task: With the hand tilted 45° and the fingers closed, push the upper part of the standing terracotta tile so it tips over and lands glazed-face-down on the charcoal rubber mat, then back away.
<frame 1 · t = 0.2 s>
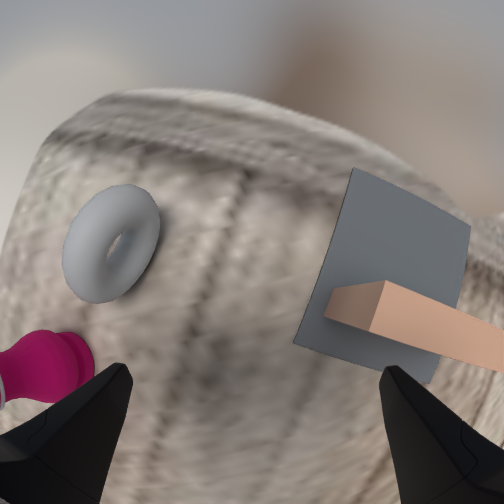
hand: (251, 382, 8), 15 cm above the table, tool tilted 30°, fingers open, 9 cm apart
donut: (141, 255, 25), on the table
rubber mat: (399, 278, 23), on the table
pepper mill: (74, 359, 23), on the table
terracotta tile: (387, 323, 22), resting on rubber mat
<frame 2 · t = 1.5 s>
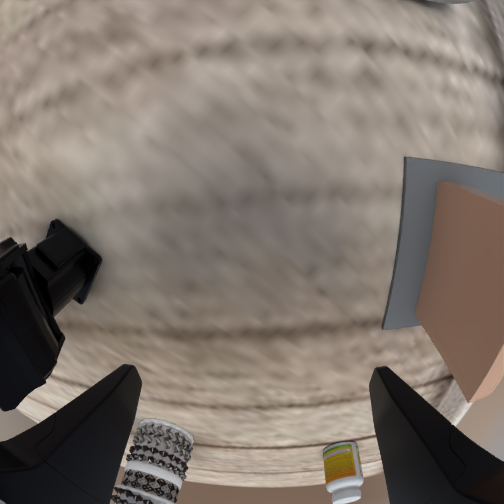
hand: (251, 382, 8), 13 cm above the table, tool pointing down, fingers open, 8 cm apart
decorative candle: (166, 432, 33), on the table
rubber mat: (470, 249, 19), on the table
terracotta tile: (439, 252, 19), resting on rubber mat
supplement bottle: (339, 447, 32), on the table
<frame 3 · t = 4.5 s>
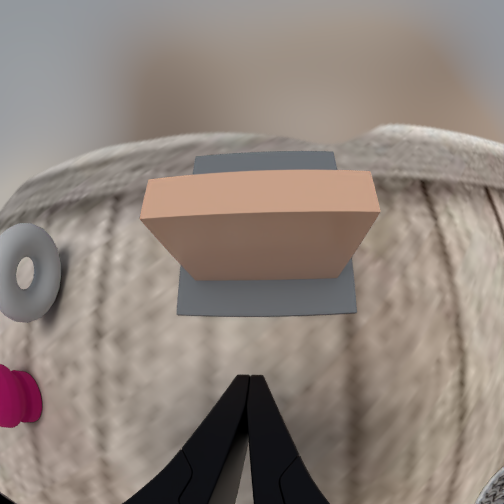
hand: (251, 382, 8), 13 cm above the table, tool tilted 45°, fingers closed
donut: (56, 288, 25), on the table
decorative candle: (496, 491, 10), on the table
rubber mat: (265, 223, 25), on the table
pepper mill: (28, 396, 20), on the table
terracotta tile: (265, 265, 23), resting on rubber mat
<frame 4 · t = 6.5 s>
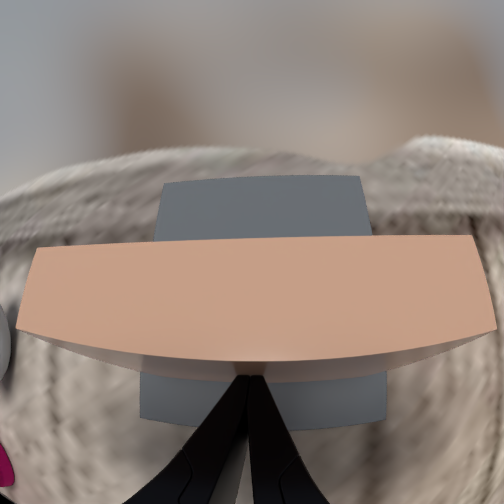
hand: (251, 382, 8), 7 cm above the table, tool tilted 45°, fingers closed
donut: (9, 350, 16), on the table
rubber mat: (261, 292, 17), on the table
terracotta tile: (261, 361, 15), point 1 cm above the table, tilted 6°, touching gripper, rubber mat
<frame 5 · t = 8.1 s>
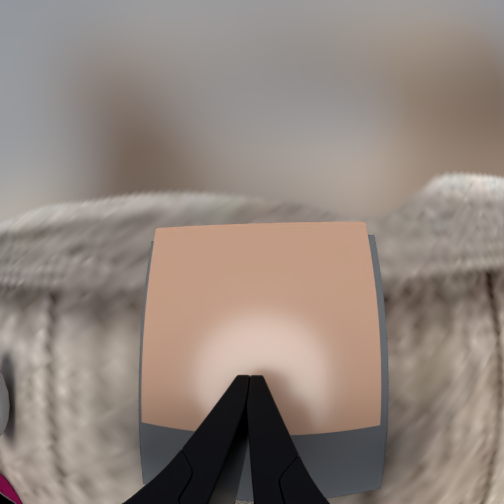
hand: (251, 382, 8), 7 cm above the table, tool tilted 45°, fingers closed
donut: (8, 401, 14), on the table
rubber mat: (261, 375, 15), on the table
pepper mill: (8, 494, 9), on the table
terracotta tile: (259, 429, 12), point 2 cm above the table, tilted 90°, touching rubber mat
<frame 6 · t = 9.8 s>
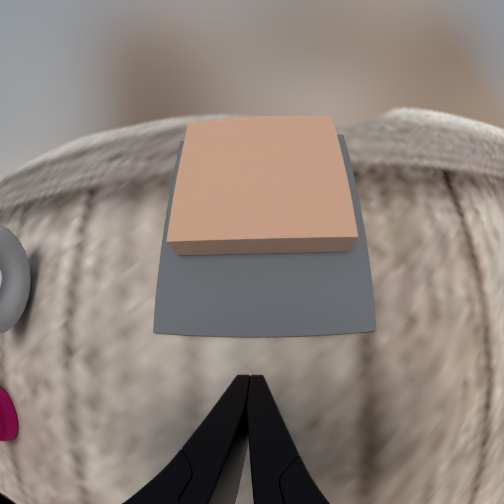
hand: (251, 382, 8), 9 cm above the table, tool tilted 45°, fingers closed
donut: (27, 295, 20), on the table
rubber mat: (262, 219, 20), on the table
pepper mill: (4, 413, 15), on the table
terracotta tile: (261, 246, 18), point 2 cm above the table, tilted 90°, touching rubber mat
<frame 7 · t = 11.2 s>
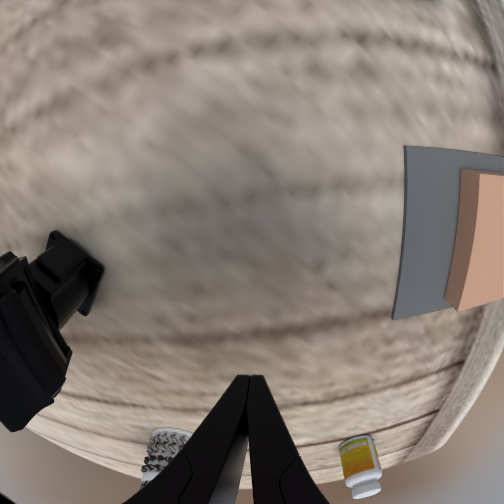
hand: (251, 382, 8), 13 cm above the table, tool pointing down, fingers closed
decorative candle: (180, 440, 32), on the table
rubber mat: (473, 233, 19), on the table
terracotta tile: (463, 243, 18), point 2 cm above the table, tilted 90°, touching rubber mat
supplement bottle: (355, 441, 32), on the table
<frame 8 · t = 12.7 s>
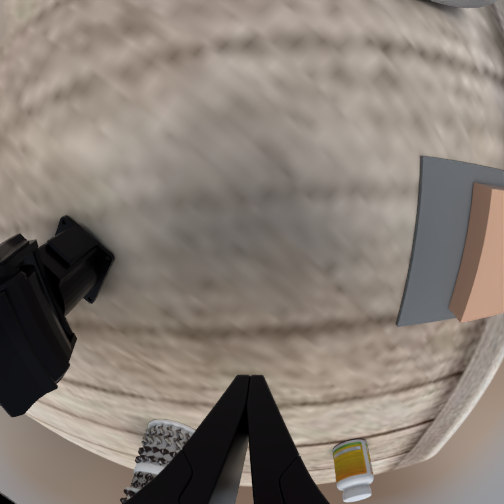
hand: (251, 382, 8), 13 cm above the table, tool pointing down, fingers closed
decorative candle: (176, 433, 33), on the table
rubber mat: (481, 247, 19), on the table
terracotta tile: (471, 255, 18), point 2 cm above the table, tilted 90°, touching rubber mat
supplement bottle: (349, 445, 32), on the table
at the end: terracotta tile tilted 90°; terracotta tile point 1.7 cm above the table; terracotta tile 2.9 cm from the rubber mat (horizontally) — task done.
